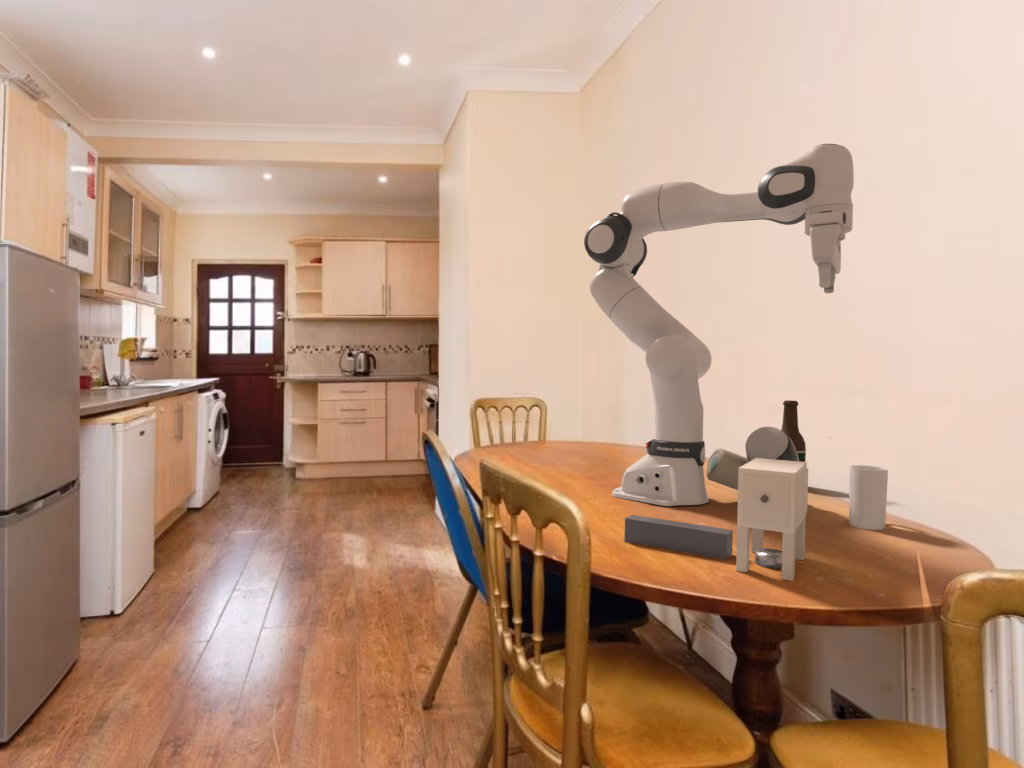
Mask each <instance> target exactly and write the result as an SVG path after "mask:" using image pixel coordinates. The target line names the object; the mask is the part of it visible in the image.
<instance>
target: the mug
mask: <svg viewBox="0 0 1024 768" xmlns="http://www.w3.org/2000/svg"><path fill="white" fill-rule="evenodd" d="M888 476H889V469H888V468H886V467H883V466H882V467H881V466H875V465H863V464H861V465H860V464H858V465H857V464H855V465H854V464H852V465H849V474H848V477H849V478H848V479H849V480H848V481H849V482H848V485H849V495H848V496H849V497H848V500H849V505H848V507H849V509H848V513H849V514H848V516H849V517H848V518H849V525H850V526H851V527H854V528H858V529H863V530H869V531H883V530H885V528H886V519H887V517H886V516H887V497H888V479H889V477H888Z"/></svg>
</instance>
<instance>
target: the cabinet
mask: <svg viewBox="0 0 1024 768" xmlns="http://www.w3.org/2000/svg"><path fill="white" fill-rule="evenodd" d="M807 466H808V461H805V462H799V461H787V460H775V459H763V458H755V459H753V460H751V461H750V462H748V463H746V464H744V465H743V466H741V467H739V468H738V490H737V511H736V512H737V514H736V516H737V518H736V519H737V521H736V523H737V525H736V557H735V558H736V562H735V563H736V567H735V568H736V569H735V572H741V573H747V572H748V571H750V545H751V553H754V554H755V550H757V549H762V548H764V532H765V531H770V532H771V531H772V532H778V533H782V541H781V542H782V543H781V545H782V546H781V547H782V548H781V549H782V550H781V551H782V569H781V580H786V581H790V582H791V581H794V579H795V575H796V574H795V573H796V571H795V568H796V567H795V566H796V560H798V561H799V560H800V561H804V558H805V553H806V552H805V548H806V514H807V513H808V503H809V502H808V498H809V497H808V496H809V495H808V494H809V493H808V492H809V491H808V490H809V468H808V467H807ZM750 541H751V544H750Z"/></svg>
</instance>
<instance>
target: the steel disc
mask: <svg viewBox="0 0 1024 768" xmlns="http://www.w3.org/2000/svg"><path fill="white" fill-rule="evenodd" d="M754 563H755V565H757V566H759V567H762V568H766V569H770V570H771V569H772V570H773V569H774V570H782V550H779V549H774V548H768V547H767V548H764V547H763V548H762V549H757V550H755V553H754Z"/></svg>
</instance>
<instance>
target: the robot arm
mask: <svg viewBox="0 0 1024 768" xmlns="http://www.w3.org/2000/svg"><path fill="white" fill-rule="evenodd" d="M854 179H855V177H854V160H853V156H852V153H851V151H850V150H849V149H848V148H847V147H846V146H844V145H840V144H837V143H821V144H819V145H815V146H813V147H811V148H810V149H809V150H808V151H807V152H806V153H804V155H801V156H800V157H798V158H797V159H795V160H793V161H790V162H789V163H786V164H783V165H780V166H776V167H774V168H771V169H770V170H769V171H767V172H766V173H765V174H764V175H763V176H762V178H761V179H760V181H759V183H758V188H757V191H756V192H744V193H734V194H732V193H731V194H730V193H729V194H727V193H720V192H717V191H713V190H711V189H708V188H706V187H704V186H702V185H701V184H698V183H695V182H694V181H693V182H692V181H691V182H690V181H671V182H665V183H659V184H655V185H650V186H647V187H643V188H640V189H637V190H635V191H632V192H629V193H628V194H627V195H626V196H625V197H624V198H623V199H622V202H621V206H620V212H615V211H613V212H611V213H609V214H608V215H607V216H605V217H604V218H602V219H599V220H597V221H596V222H594V223H592V225H590V227H589V228H588V229H587V231H586V232H585V236H584V240H583V242H584V243H583V244H584V249H585V251H586V253H587V254H588V256H589V257H590V258H591V259H592V261H594V262H596V263H597V264H599V268H598V271H597V272H596V273H595V274H594V275H593V278H592V279H591V281H590V283H589V284H590V285H589V290H590V294H591V296H592V298H593V300H594V301H595V302H596V304H597V305H598V308H600V310H602V312H603V313H604V314H605V315H606V316H607V318H608V319H609V320H610V321H611V322H612V323H613V324H614V325H615V326H616V327H617V328H618V329H619V330H620V332H622V334H623V335H625V337H626V338H627V339H628V340H629V341H630V342H631V343H633V344H634V345H635V346H637V347H638V348H639V349H641V350H642V351H643V352H645V362H646V366H647V368H648V370H649V374H650V382H651V386H652V387H651V388H652V393H653V400H654V409H655V411H654V415H655V417H654V419H655V420H654V438H653V439H650V440H649V441H647V442H645V443H644V445H645V446H644V448H646V452H647V453H646V454H645V455H644V456H642V457H641V458H640V459H638V460H637V461H636V462H634V463H632V464H631V465H629V466H628V467H627V468H626V470H625V471H624V474H623V476H622V480H621V486H619V487H616V488H614V489H613V490H612V494H611V495H612V497H614V498H619V499H624V500H625V499H626V500H631V501H635V502H640V503H641V502H642V503H645V504H646V503H648V504H653V505H658V506H664V507H674V506H696V505H697V506H698V505H704V504H706V503H709V501H710V499H709V495H708V493H707V487H706V486H707V485H706V481H705V472H704V465H705V462H706V446H705V445H706V443H705V441H704V410H705V409H704V405H703V402H702V399H701V391H700V385H699V384H700V383H699V380H700V379H701V378H702V377H704V376H705V375H706V374H707V373H708V371H709V370H710V368H711V365H712V354H711V351H710V350H709V348H708V347H707V345H706V344H705V343H704V342H703V341H702V340H701V339H700V338H698V336H697V335H695V334H694V333H693V332H692V331H691V330H689V329H688V327H686V326H685V325H683V324H682V322H680V321H679V320H678V319H677V318H675V317H674V316H673V315H672V314H670V313H669V311H667V310H666V309H665V308H664V307H663V306H662V305H660V303H659V302H658V301H657V300H655V299H654V297H653V296H651V295H650V294H649V292H648V291H647V290H645V288H644V287H643V286H641V284H640V283H638V282H637V281H636V280H635V279H634V277H635V276H636V275H637V273H638V271H639V270H640V268H641V266H642V265H643V264H644V262H645V261H646V259H647V255H648V247H647V243H646V240H645V239H644V238H645V237H646V236H648V235H650V234H653V233H655V232H657V233H658V232H666V231H667V232H668V231H676V230H683V229H689V228H693V227H694V228H695V227H699V226H706V225H711V224H719V223H729V222H730V223H732V222H746V221H758V220H761V221H762V220H763V221H764V220H765V221H770V222H774V223H777V224H780V225H784V226H787V225H788V226H791V225H796V224H799V223H801V222H803V221H804V234H805V235H806V236H810V248H811V257H812V260H813V262H814V264H815V265H816V267H817V271H818V277H819V279H818V280H819V282H818V283H819V287H820V288H822V289H823V291H824V293H825V294H833V293H834V292H835V291H834V290H835V280H836V275H839V274H840V273H841V267H842V266H841V265H842V245H841V242H842V241H844V240H846V234H848V233H850V232H852V231H853V220H854V219H853V216H854V214H853V213H854V212H853V210H854V204H853V201H852V191H853V189H854V184H855V183H854Z"/></svg>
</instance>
